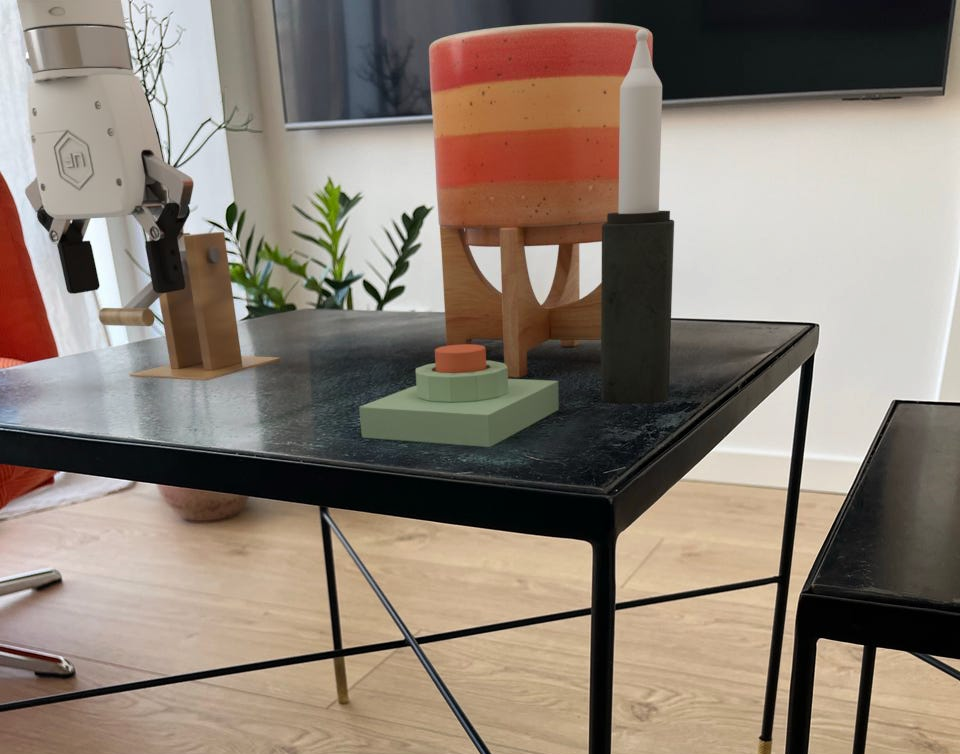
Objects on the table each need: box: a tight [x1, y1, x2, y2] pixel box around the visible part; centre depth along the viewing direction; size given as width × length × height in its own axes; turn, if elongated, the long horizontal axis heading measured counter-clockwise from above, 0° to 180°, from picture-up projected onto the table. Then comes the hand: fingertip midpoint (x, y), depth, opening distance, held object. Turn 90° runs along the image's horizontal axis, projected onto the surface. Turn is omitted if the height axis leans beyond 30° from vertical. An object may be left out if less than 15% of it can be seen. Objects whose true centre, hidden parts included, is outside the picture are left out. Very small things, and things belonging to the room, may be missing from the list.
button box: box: [358, 360, 560, 448], centre depth 73 cm, size 12×10×4 cm
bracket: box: [129, 231, 281, 381], centre depth 94 cm, size 11×9×13 cm
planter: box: [428, 22, 654, 379], centre depth 92 cm, size 20×20×27 cm
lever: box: [98, 235, 190, 327], centre depth 89 cm, size 12×5×2 cm, turn 154°
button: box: [434, 343, 487, 373], centre depth 72 cm, size 4×4×2 cm
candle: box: [600, 29, 675, 404], centre depth 75 cm, size 5×5×25 cm
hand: (126, 291), depth 86 cm, fingers open, 9 cm apart
